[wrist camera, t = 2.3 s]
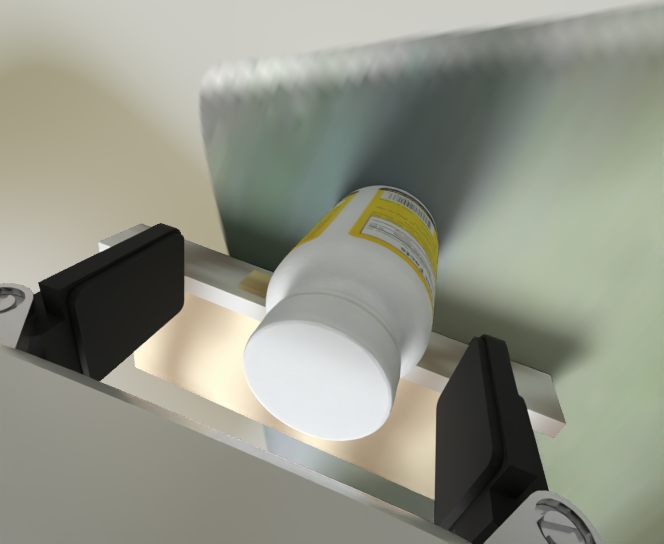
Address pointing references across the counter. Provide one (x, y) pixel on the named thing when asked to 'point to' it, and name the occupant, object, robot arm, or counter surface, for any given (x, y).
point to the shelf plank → (234, 393)
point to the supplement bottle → (347, 316)
